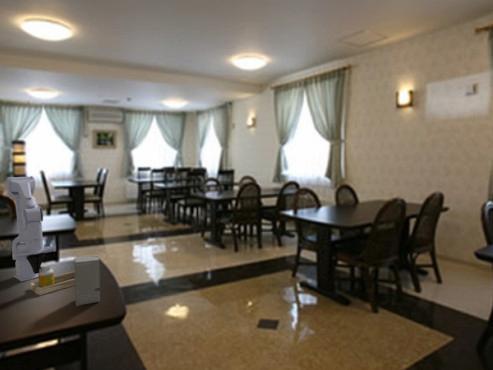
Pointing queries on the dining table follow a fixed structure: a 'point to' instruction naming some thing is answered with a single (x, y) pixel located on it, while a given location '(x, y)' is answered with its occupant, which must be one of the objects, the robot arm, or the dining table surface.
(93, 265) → the skincare box
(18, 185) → the robot arm
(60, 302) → the dining table surface
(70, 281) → the tray
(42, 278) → the supplement bottle
